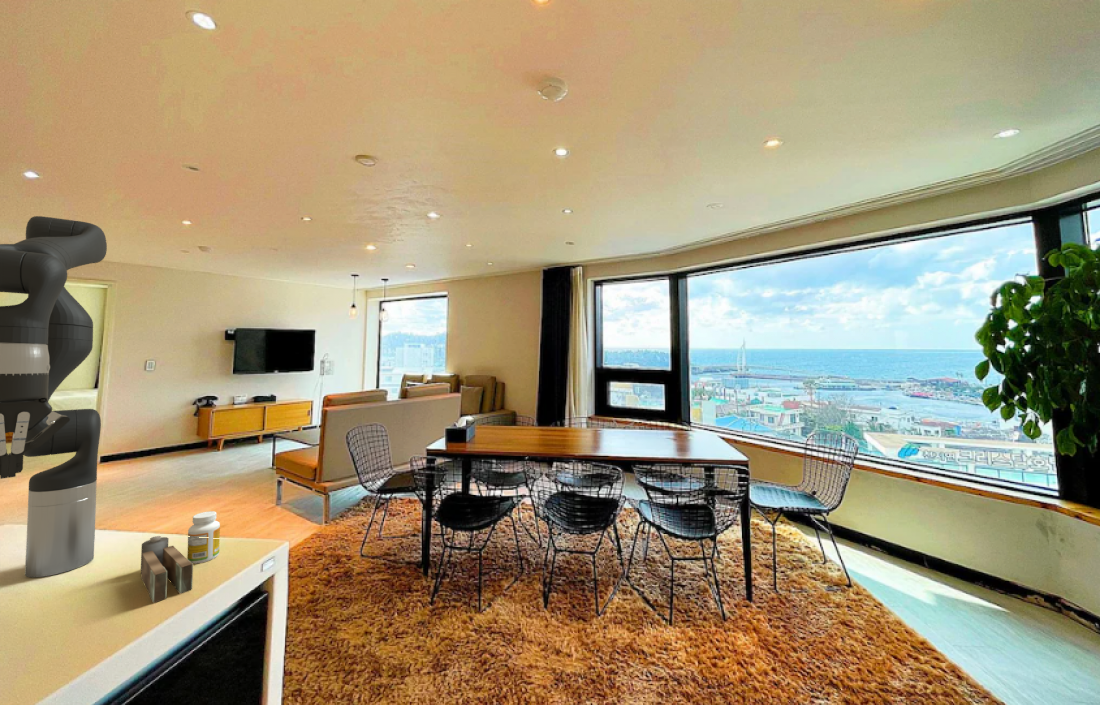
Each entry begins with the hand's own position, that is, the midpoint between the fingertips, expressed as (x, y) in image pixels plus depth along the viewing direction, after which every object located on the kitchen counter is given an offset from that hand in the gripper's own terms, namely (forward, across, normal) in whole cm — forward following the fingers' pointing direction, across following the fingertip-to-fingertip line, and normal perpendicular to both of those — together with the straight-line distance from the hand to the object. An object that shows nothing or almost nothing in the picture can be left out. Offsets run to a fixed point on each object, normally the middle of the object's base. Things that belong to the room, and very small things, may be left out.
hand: (7, 476), depth 65 cm
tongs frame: (+25, -19, +1) cm, 32 cm away
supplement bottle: (+25, -27, -4) cm, 37 cm away
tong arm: (+25, -17, +3) cm, 30 cm away
